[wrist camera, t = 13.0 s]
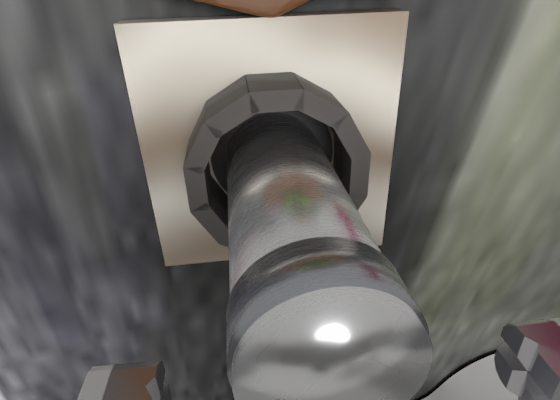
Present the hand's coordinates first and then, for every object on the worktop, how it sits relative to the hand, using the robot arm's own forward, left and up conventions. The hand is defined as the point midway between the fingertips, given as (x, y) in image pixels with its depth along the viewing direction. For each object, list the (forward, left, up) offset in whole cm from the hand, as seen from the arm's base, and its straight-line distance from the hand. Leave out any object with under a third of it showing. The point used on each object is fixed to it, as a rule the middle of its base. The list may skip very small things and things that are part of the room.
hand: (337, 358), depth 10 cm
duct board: (0, 0, -13) cm, 13 cm away
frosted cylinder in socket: (0, 0, -11) cm, 11 cm away
